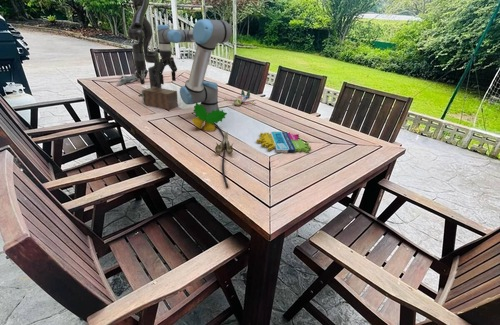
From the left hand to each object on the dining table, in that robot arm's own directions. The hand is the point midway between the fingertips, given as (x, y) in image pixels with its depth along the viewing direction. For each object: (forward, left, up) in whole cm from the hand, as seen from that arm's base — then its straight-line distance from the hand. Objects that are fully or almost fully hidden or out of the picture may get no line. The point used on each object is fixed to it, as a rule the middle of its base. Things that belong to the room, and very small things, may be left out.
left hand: (142, 84), depth 196 cm
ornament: (+64, +34, -14) cm, 74 cm away
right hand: (+16, +17, +4) cm, 23 cm away
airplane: (-72, -8, -14) cm, 73 cm away
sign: (+96, +69, -14) cm, 119 cm away
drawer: (+7, +7, -13) cm, 16 cm away
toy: (+13, +76, -14) cm, 78 cm away
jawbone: (+97, +33, -14) cm, 103 cm away
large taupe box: (+11, +11, -14) cm, 21 cm away
